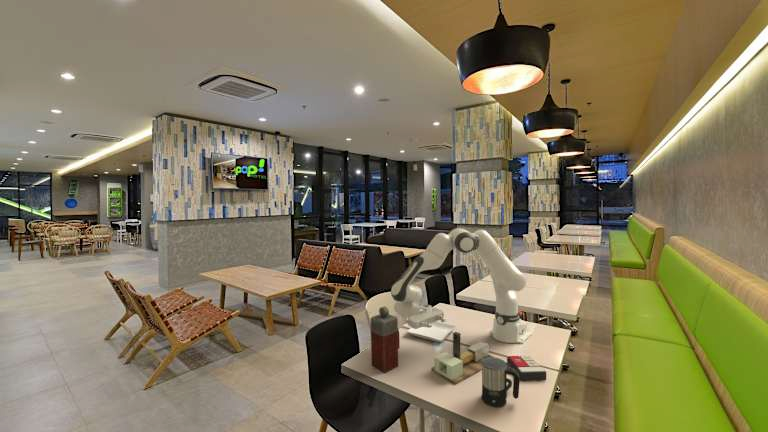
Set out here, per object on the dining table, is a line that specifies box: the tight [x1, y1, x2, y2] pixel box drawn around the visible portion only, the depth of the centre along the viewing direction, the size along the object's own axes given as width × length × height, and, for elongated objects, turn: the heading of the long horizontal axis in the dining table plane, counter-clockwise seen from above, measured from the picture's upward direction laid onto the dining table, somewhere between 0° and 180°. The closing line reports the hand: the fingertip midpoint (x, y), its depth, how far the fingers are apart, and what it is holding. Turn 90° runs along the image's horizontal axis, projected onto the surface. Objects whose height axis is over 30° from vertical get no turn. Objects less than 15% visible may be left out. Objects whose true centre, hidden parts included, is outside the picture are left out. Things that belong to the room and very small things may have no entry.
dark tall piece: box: [445, 331, 475, 369], centre depth 148 cm, size 18×3×14 cm, turn 127°
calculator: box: [506, 355, 547, 382], centre depth 146 cm, size 11×4×15 cm
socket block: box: [434, 351, 463, 380], centre depth 143 cm, size 7×10×6 cm
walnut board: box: [431, 355, 494, 386], centre depth 151 cm, size 30×14×1 cm, turn 127°
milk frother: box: [480, 356, 521, 408], centre depth 129 cm, size 14×16×15 cm
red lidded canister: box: [370, 305, 401, 374], centre depth 151 cm, size 9×11×28 cm
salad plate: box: [406, 321, 456, 343], centre depth 185 cm, size 21×21×3 cm
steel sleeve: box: [466, 341, 491, 363], centre depth 156 cm, size 10×6×5 cm, turn 127°
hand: (437, 323), depth 156 cm, fingers open, 8 cm apart
